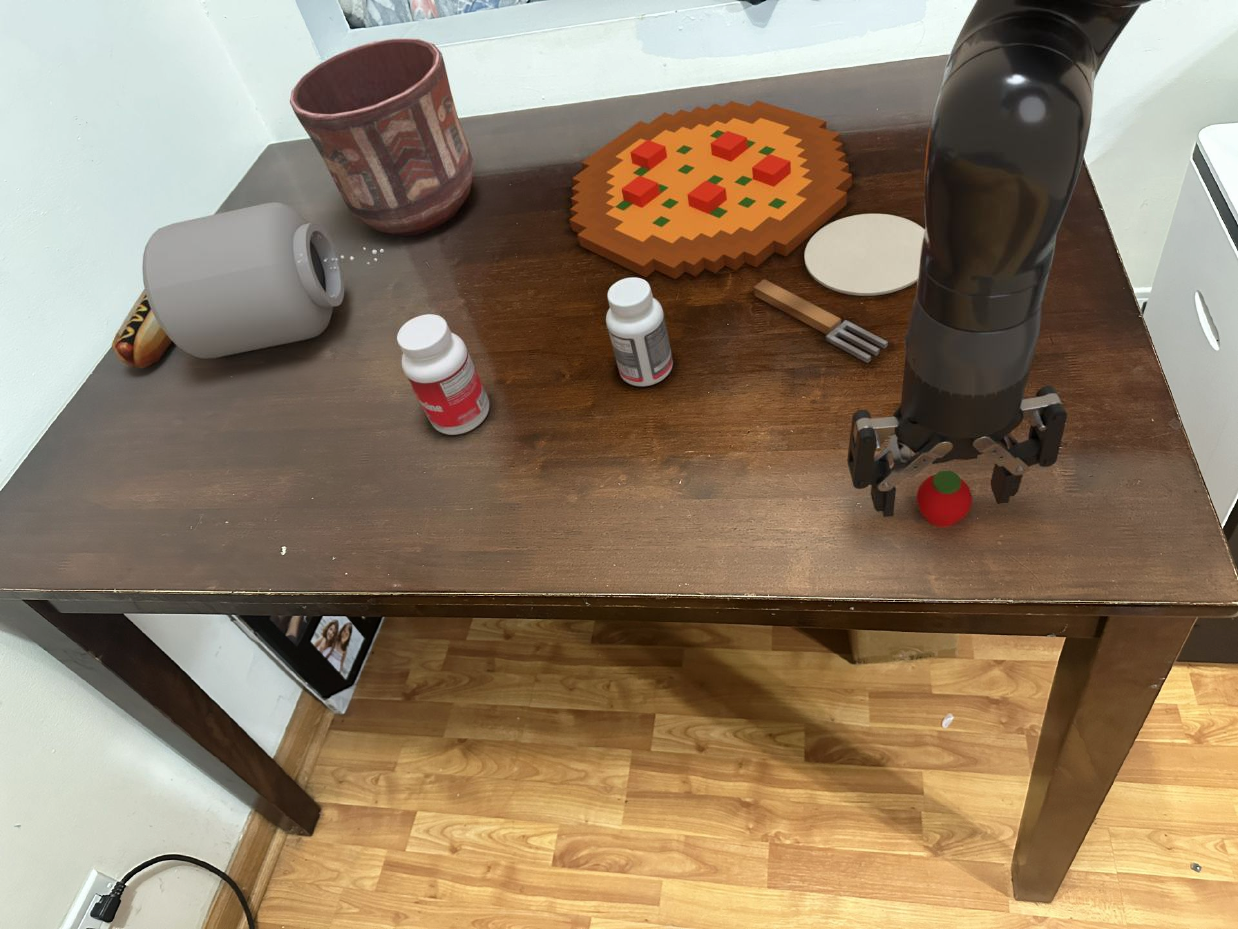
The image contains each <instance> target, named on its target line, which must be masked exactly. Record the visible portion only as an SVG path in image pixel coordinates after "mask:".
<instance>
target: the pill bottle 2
mask: <svg viewBox="0 0 1238 929" xmlns="http://www.w3.org/2000/svg"><path fill="white" fill-rule="evenodd" d="M607 302H608V306H609V308H608V309H607V313H606V316H605V323H606V325H605V326H606V329H607V331H608V334H609V338H610V342H611V346H612V351H613V354H614V357H615V362H616V365H617V369H618V372H619V376H620V377H621V379H622V380H623V381H624V382H626V383H627V384H629V385H632V386H635V387H648V386H654V385H655V384H658V383H660V382H662V381H663V380H664V379H665V378H667V377H668V376H669V374H670V373H671V371H672V369H673V364H674V360H673V355H672V349H671V347H670V346H671V345H670V339H669V335H668V334H669V333H668V328H667V325H666V320H665V313H664V310H663V307H662V305H661V303H660V302H659V301H658V300H657V298H654V295H653V292H652V289H651V285H650V284H649V282H648V281H646V280H645V279H643V278H642V277H641V278H640V277H636V276H635V277H633V276H632V277H625V278H623V279H620V280H618V281H616V282H614V283H613V284H612V285H611V286H610V287H609V289H608V290H607Z"/></svg>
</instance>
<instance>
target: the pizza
mask: <svg viewBox="0 0 1238 929" xmlns="http://www.w3.org/2000/svg"><path fill="white" fill-rule="evenodd" d="M840 135H841V134H840V132H837V131H834V130H833V131H832V130H829V129H827V120H824V119H821V118H818V117H814V116H811V115H808V114H804V113H801V112H797V111H794V110H790V109H787V108H784V107H780V106H777V105H773V104H770V103H768V102H763V101H760V100H756V101H754V102H753V103H751V105H747V104H743V103H740V102H737V101H733V100H730V101H728V102H727V103H726V104H724V105H720V104H717V103H713V104H712V105H710V106H708V108H704V107H700V106H697V107H695V108H694V109H691V111H687V110H684V109H680V110H678V111H677V112H675V113H674V114H671V113H668V112H663V113H661V114H660V115H659V116H658V117H655V119H653V120H652V121H650V122H644V121H642V120H639V121H638V122H636V123H635V124H634V125H632V126H631V127H630V128H628V129H627V130H625V131H623V132H622V133H621V134H619V135H618V136H617V137H615V138H613V139H612V140H611V141H610V142H608V143H607V144H605V145H603V147H601V148H600V149H598V150H597V151H596V152H594V153H593V154H591V155H589V157H587V158H586V159H583V161H581V166H582V171H579V173H577V174H576V175H575V176H573V177H572V179H571V180H572V184H573V187H571V192H572V197H570V201H571V204H572V207H571V208H569V209H570V214H571V217H570V218H569V219H568V220H569V224H570V227H571V231H573V232H574V233H577V239H578V242H579V246H580V247H582V248H583V249H586V250H588V251H590V252H592V253H594V254H595V255H598V256H601V257H602V258H604V259H607V260H608V261H610V262H613V263H615V264H617V265H619V266H621V267H623V268H625V269H627V270H630V271H631V272H633V273H635V274H638V275H640V276H642V277H643V278H647V277H648V276H650V275H651V274H652V273H653V272H654V271H657V272H659V273H661V274H664V275H665V276H668V277H669V278H672V279H674V280H677V279H679V277H681V276H682V275H683V274H684V273H686V274H689V275H692V276H694V277H697V276H698V275H699V274H700V273H702V272H703V271H705V270H706V271H708V272H711V273H713V274H717V273H718V272H719V271H720V270H722V269H723V268H724V267H727V268H729V269H732V270H733V271H737V270H738V269H740V268H741V267H742V266H744V265H745V264H747V265H750V266H752V267H754V268H758V267H759V266H760V265H761V264H763V262H765V261H766V260H767V259H769V258H770V257H771V256H772V255H773V254H774V253H775V254H779V255H780V256H783V257H787V256H789V255H790V254H791V253H792V252H793V251H794V250H796V249H797V248H798V247H799V246H800V245H801V244H803V243H804V242H805V241H807V239H808V238H810V237H812V236H813V235H814V234H815V232H817V231H819V230H820V229H821V227H822V226H824V225H825V224H826V223H827V222H828V221H829V220H831V219H832V218H833V217H834V216H836V214H837V213H839V212H840V211H841V210H842V209H843V208H844V207H846V206H847V203H848V192H847V191H848V190H849V189H850V188H851V187H853V174H852V173H850V172H849V171H850V164H849V163H848V162H846V160H847V159H846V155H847V154H846V153H845V152H843V149H844V148H843V146H844V143H843V142H841V140H840V138H841V136H840Z"/></svg>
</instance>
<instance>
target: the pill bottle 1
mask: <svg viewBox="0 0 1238 929" xmlns="http://www.w3.org/2000/svg"><path fill="white" fill-rule="evenodd" d="M396 340H397V344H398V346H399V347H400V350H401V352H402V355H401V368H402V370H403V373H404V376H405V377H406V379H407V381H408V383H409V385H410V387H411V388H412V391H413V392H414V394H415V396H416V398H417V400H418V402H419V403H420V406H421V407H422V409H423V412H424V413H425V415H426V417H427V419H428V422H430V424H431V425H432V427H433V428H434V429H435V430H436V431H438V432H439V433H441V434H445V435H449V436H450V435H452V436H454V435H455V436H456V435H462V434H466V433H468V432H470V431H472V430H474V429H475V428H477V427H479V426H480V424H482V423H483V422H484V421H485V419H486V417H487V416H488V414H489V411H490V399H489V396H488V394H487V392H486V390H485V387H484V385H483V382H482V380H481V378H480V375H479V374H478V372H477V369H476V367H475V365H474V362H473V360H472V358H471V354H470V353H469V351H468V348H467V346H466V343H465V342H464V340H463V339H462V338H461V337H460V336H459V335H457V334H455V333H454V332H452V331H451V329H450V327H449V325H448V323H447V321H446V319H445V318H443V317H442V316H440V315H438V314H431V313H430V314H429V313H428V314H422V315H421V314H420V315H418V316H415V317H413V318H411V319H409V320H408V321H407V322H405V323H404V324H403V325H402V326H401V327H400V329H399V331H397V335H396Z"/></svg>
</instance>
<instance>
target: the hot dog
mask: <svg viewBox="0 0 1238 929" xmlns="http://www.w3.org/2000/svg"><path fill="white" fill-rule="evenodd" d="M172 343H173V341H172V340H171V339H170V338H169V337H168V335H167V334H166V333H165V331H164V330H163V329H162V327H161V326H160V325H159V323H158V321H157V319H156V318H155V316H154V314H153V312H152V310H151V307H150V305H149V302H148V299H147V296H146V293H145V288H144V289H143V290H142V292H141V293H140V294H139V296H138V298H137V299H136V301H135V302H134V304H133V306H132V307H131V309H130V311H129V312H128V313H127V315H126V317H125V318H124V320H123V322H122V323H121V326H120V327H119V328H118V330H117V332H116V334H115V336H114V338H113V340H112V342H111V348H112V350H113V352H114V353H115V355H116V356H117V357H118V359H119V360H120V362H122V363H124V364H125V365H128V366H131V367H133V368H139V369H146V368H147V367H149V366H151V365H153V364H155V363H156V362H158V361H160V360H161V359H162V357H163V356H164V354H165V353H166V352H167V350H168V348H169V347H170V346H171V345H172Z"/></svg>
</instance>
